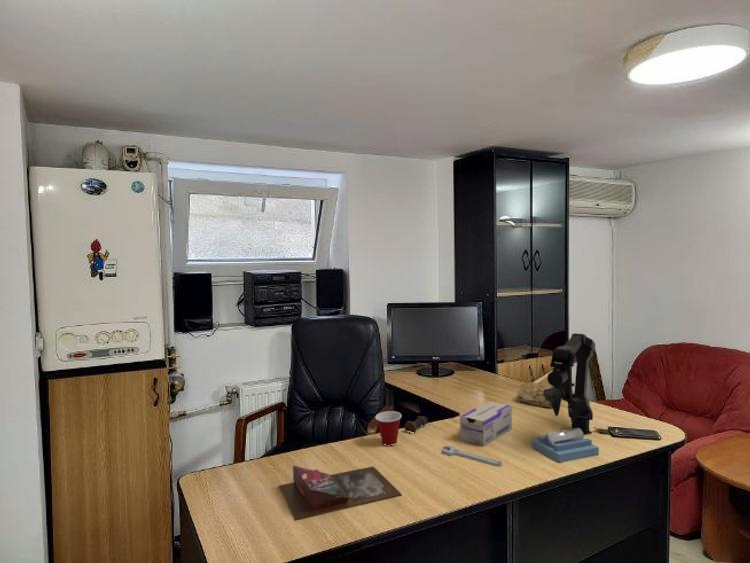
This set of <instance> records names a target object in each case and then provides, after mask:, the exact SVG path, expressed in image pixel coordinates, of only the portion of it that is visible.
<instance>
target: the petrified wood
mask: <svg viewBox="0 0 750 563" xmlns="http://www.w3.org/2000/svg"><path fill="white" fill-rule="evenodd" d="M552 387H553V386H551V385H546V384H542V383H537V382H531V381H525V382H524V383H521V385H520V386H519V387H518V390H517V393H516V399H518V400H519V401H521V402H524V403H526V404H529V405H533V406H537V407H542V408H551V409H553V408H552V405H551V403H550V401H546V399H545V397H544V396H543V391H544V390H545V389H550V388H552Z"/></svg>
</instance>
